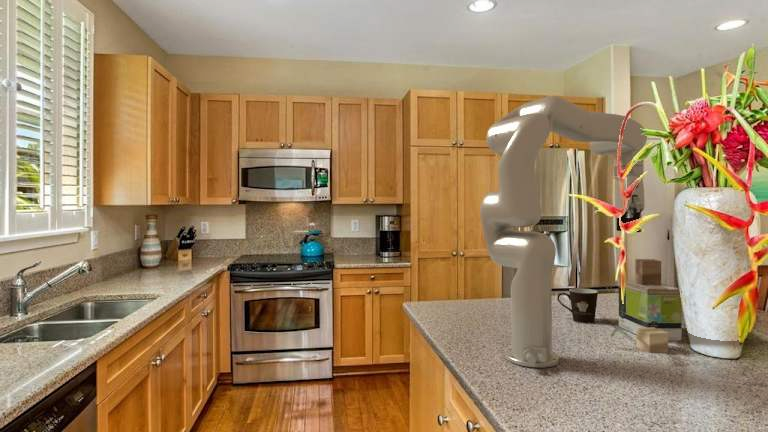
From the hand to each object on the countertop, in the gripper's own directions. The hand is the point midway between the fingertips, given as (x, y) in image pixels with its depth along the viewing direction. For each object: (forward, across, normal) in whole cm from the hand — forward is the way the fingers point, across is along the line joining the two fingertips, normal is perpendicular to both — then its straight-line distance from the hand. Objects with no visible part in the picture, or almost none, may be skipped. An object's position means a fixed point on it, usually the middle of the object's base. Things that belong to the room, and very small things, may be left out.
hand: (628, 231), depth 122 cm
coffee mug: (+30, +15, +10) cm, 35 cm away
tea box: (+31, +2, -6) cm, 31 cm away
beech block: (+31, -13, -2) cm, 33 cm away
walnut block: (+16, +2, -6) cm, 17 cm away
